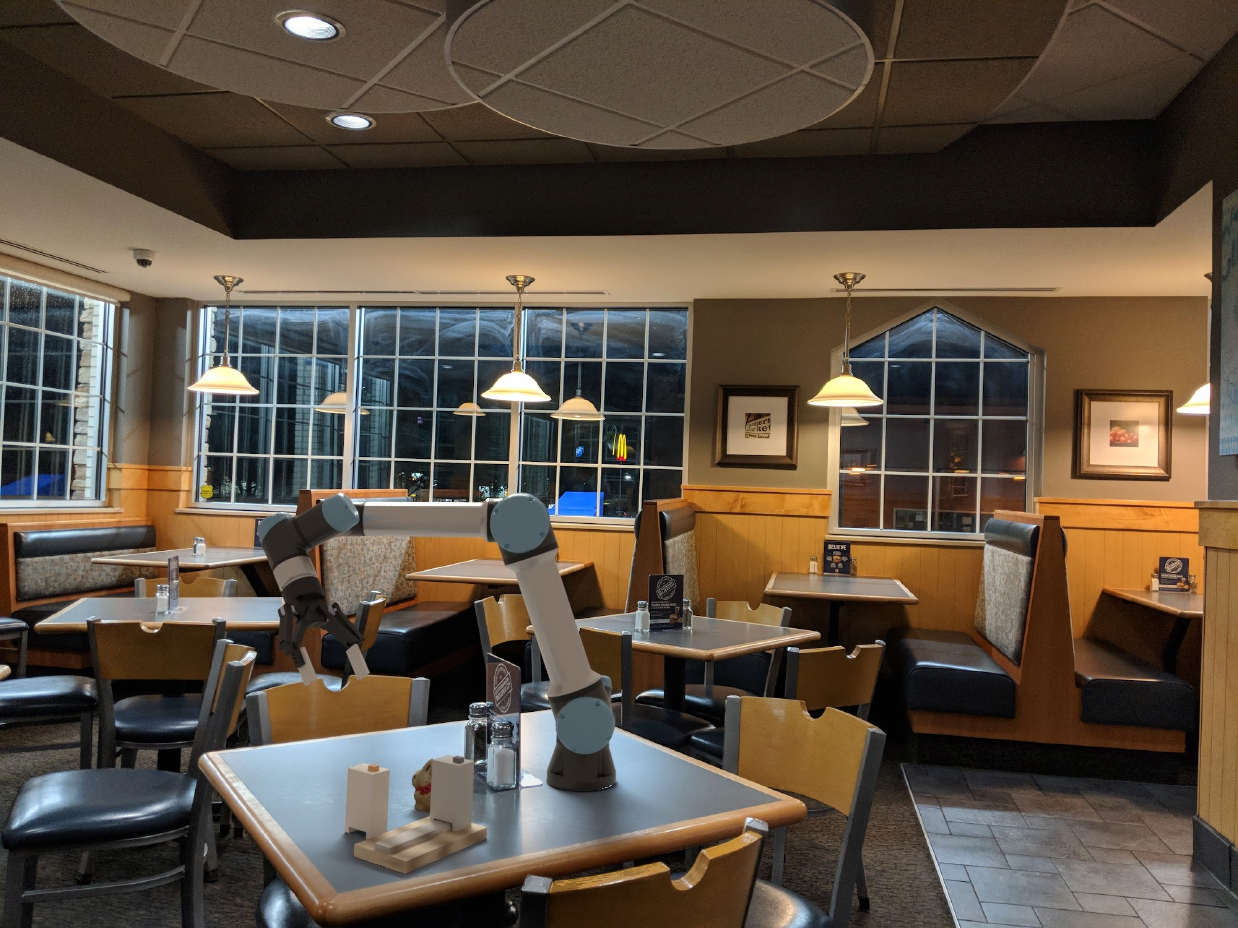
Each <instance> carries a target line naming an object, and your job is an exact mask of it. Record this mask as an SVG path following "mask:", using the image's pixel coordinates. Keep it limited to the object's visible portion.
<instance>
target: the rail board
mask: <svg viewBox="0 0 1238 928" xmlns="http://www.w3.org/2000/svg"><path fill="white" fill-rule="evenodd" d="M452 825H453V823H449V822H446V821H442V820H439V819H437V820H434V821H431V822H430V815H428V816H426V817H423V818H421V819H418V820H415V821H412V822H410V823H407V824H405V825H402V826H400V827H396V828H395V829H391V830H389V831H388V830H387V832H386V833H383V834H380V835H378V836H375V837H372V838H370V839H364V840H362V841H360V842H357V843H354V844H353V857H354V858H357V859H360V860H363V861H366V860H367V861H366V862H369V863H372V864H374V865H377V864H378V865H377V866H380V865H382V866H381V867H383V866H385V867H384V868H386V869H389V868H390V869H389V870H392V871H396V872H399V873H402V874H404V875H406V874H408V873H409V874H410V872H413V871H416V870H418V869H421V868H422V867H425V866H426V865H429V864H431V863H434V862H436V861H438V860H441V859H443V858H445V857H448V856H450V855H452V854H454V853H457V852H459V851H461V850H463V849H466V848H468V847H470V846H473V845H476V844H477V843H479V842H482V841H484V840H487V839H488V838H487V837H488V836H487V835H488V827H487V826H483V825H480V824H478V823H473V822H472V824H471V826H469V827H466V828H464V829H461V830H459V831H453V830H452Z"/></svg>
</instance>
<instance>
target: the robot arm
mask: <svg viewBox="0 0 1238 928" xmlns="http://www.w3.org/2000/svg"><path fill="white" fill-rule="evenodd" d="M551 522H552V521H551V516H550V513H549V510H548V508H547V506H546V505H545V503H544V502H543V501H542V500H541V499H540V498H538V497H536V496H534V495H533V494H531V493H526V492H516V493H512V494H511V493H510V494H509V495H507V496H504V497H498V498H497V497H496V498H495V497H494V498H493V497H490V498H489V497H488V498H486V499H485V500H484V501H483V502H439V501H438V502H433V501H432V502H431V501H430V502H426V501H425V502H421V501H419V502H418V501H413V502H411V501H410V502H409V501H352V499H351V498H350V497H349V496H347V494H346V493H343V492H337V493H335V494H334V495H332V496H328V497H326V498H324V500H322V501H321V502H319V503H317V504H315V505H314V506H311V507H310V508H308V509H306V510H304V511H303V512H301V513H299V514H296V515H295V516H293V515H291V514H290V513H288V512H283V511H281V512H277V513H275V514H270V515H268V516H266V517H265V518H263V519H262V520H261V521H260V522H259V524H258V526H257V535H258V537H259V540H260V545H261V548H262V550H263V552H264V554H265V557H266V559H267V561H268V564H269V566H270V569H271V571H272V573H273V576H274V579H275V581H276V584H277V585H278V588H279V591H280V592H281V596H282V599H283V602H284V604H282V605H281V606H280V607H279V608H278V609H277V614H278V618H279V625H278V626H279V628H278V641H277V642H278V643H277V644H278V645H277V650H278V651H279V652H284V655H285V656H286V657H290V658H291V660H292V661H293V665H294V667H295V668H296V669H298V671H299V674H300V677H301V680H302V682H303V684H304V686H305V687H306V686H309V685H310V684H312V683H313V682H314V681H315V680H316V679H318V676H317V673H316V671H315V668H314V666H313V664H312V661H311V659H310V657H309V653H308V651H307V648H306V646H301V645H302V643H303V639H304V637H305V633H306V630H307V629H311V628H316V629H317V628H320V629H321V631H326V632H328V633H329V634H330V636H332V637H333V638H335V639H336V640H337V641H338V642H339V643H340V644H342V646H344V647H345V648H346V649H347V650H346V651H345V653H346V655H347V657H348V660H349V662H350V665H351V667H352V670H353V672H354V674H355V676H356V679H357V681H360V680H362V679H364V678H365V677H366V676H368V675H369V674H370V670H369V668H368V665H367V663H366V661H365V655H364V653H363V651H362V648H361V647H360V645H361V644H363V643H364V642H366V638H365V636H364V635H363V633H362V632H360V631H359V629H358V628H357V627H356V626H355V624H353V622H352V621H351V619H350V618H348V616H347V615H346V614H345V613H344V612H343V610H342V609H341V606H340V605H339V603H338V602H336V601H334V602H333V603H332V604H330V605H327V604H326V602H325V600H324V597H325V590H324V588H323V586H322V583H321V581H320V579H319V578H318V574H317V571H316V568H315V566H314V564H313V562H312V560H311V557H310V555H309V552H310V551H311V550H314V549H315V548H317V547H319V546H320V545H322V544H324V543H326V542H328V541H329V540H331V539H334V538H341V537H396V538H397V537H401V538H402V537H407V538H417V537H418V538H420V537H421V538H422V537H423V538H425V537H426V538H482V540H484V541H485V542H486V543H496V544H497V546H498V548H499V552H500V555H501V559H502V560H503V561H502V562H503V564H504V567H505V568H507V569H509V570H511V571H512V572H513V573H514V574H515V576H516V577H515V578H516V580H517V584H518V586H519V589H520V592H521V596H522V599H523V602H524V605H525V608H526V610H527V613H528V617H529V620H530V623H531V627H532V630H533V632H534V635H535V639H536V641H537V644H538V648H539V651H540V654H541V656H542V660H543V663H544V665H545V669H546V671H547V675H548V678H549V682H550V686H549V688H548V689H547V692H546V696H547V699H548V703H549V706H550V709H551V712H552V715H553V719H554V721H555V733H556V737H555V738H556V739H555V740H556V741H555V746H554V749H553V752H552V755H551V757H550V760H549V764H548V765H547V766H548V767H547V768H546V783H547V784H549V785H550V786H552V787H554V788H557V789H560V790H565V791H572V792H593V791H592V790H597V791H600V790H599V789H602V788H605V787H609V786H610V785H613V784H614V783H615V781H616V782H617V771H616V767H615V764H614V760H613V757H612V751H611V748H610V741H611V739H612V738H613V735H614V733H615V729H616V717H615V714H614V711H613V707H612V691H613V686H612V679H611V677H610V676H608V675H603V674H602V675H601V674H600V673H598V672H596V671H594V670H593V669H591V665H590V662H589V659H588V656H587V654H586V650H585V647H584V644H583V642H582V638H581V635H580V632H579V629H578V626H577V623H576V619H575V617H574V614H573V613H574V612H573V611H572V608H571V604H570V601H569V598H568V595H567V591H566V589H565V586H564V583H563V580H562V577H561V574H560V570H559V568H558V564H557V561H556V557H557V554H558V551H559V550H560V547H559V544H558V540H557V538H556V535H555V531H554V529H553V526H552V523H551ZM294 618H295V619H296V620H295V623H294ZM327 619H328V620H327ZM615 784H616V783H615ZM613 786H614V785H613Z"/></svg>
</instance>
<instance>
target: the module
mask: <svg viewBox="0 0 1238 928" xmlns="http://www.w3.org/2000/svg"><path fill="white" fill-rule="evenodd" d="M390 774H391V770H390V769H388V768H385V767H382V766H380V765H378V764H374V763H371V764H370V763H366V762H363V763H361V764H357V765H355V766H354V765H353V766H350V767H347V782H346V798H345V799H346V801H345V817H344V818H345V821H344V833H346V832H347V834H351V833H353V832H357V831H362V832H365V840H367V839H370V838H372V837H375V836H378V835H380V834H383V833H386V832H388V815H389V798H390V797H389V794H390V793H389V791H390V777H391V776H390ZM350 832H351V833H350Z"/></svg>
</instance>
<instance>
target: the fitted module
mask: <svg viewBox="0 0 1238 928" xmlns="http://www.w3.org/2000/svg"><path fill="white" fill-rule="evenodd" d="M474 774H475V760H471V759H466V758H465V756H461V755H456V756H454V755H449V754H447V755H443V756H439V757H436V758H433V760H432V781H431V803H430V813H429V816H430V822H431V821H434V820H437V819H439V820H442V821H446V822H449V823H453V825H452V830H453V831H459V830H461V829H464V828H466V827H469V826H471V824H472V823H473V822H472V818H473V796H474V778H475V777H474Z"/></svg>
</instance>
